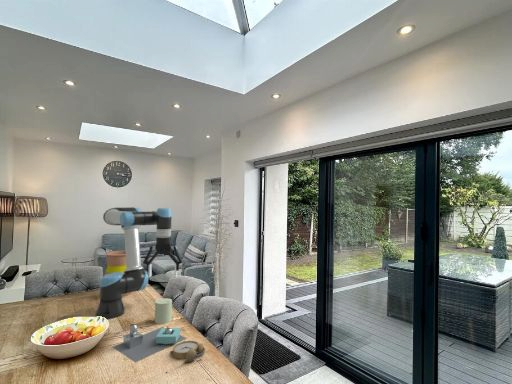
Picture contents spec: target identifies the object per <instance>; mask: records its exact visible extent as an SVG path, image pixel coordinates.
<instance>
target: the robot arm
mask: <svg viewBox="0 0 512 384" xmlns="http://www.w3.org/2000/svg"><path fill="white" fill-rule="evenodd" d="M172 217H173V215H172V209H171V208H169V207H168V208H167V207H165V208H164V207H163V208H161V207H159V208H157V210H155V211H154V210H152V211H143V210H142V209H141V208H140V207H133V206H132V207H131V206H130V207H112V208H109V209H107V210H105V212H104V213H103V215H102V220H103V222H105V223H106V224H107V225H110V226H120V227H121V230H122V231H124V248H125V250H126V267H127V268H126V270H125V271H124V274H122V273H121V272H117V273H110V274H107V275H105V274H104V275H105V276H104V275H103V276H102V277H101V279H100V285H99V288H100V289H99V303H98V306H97V310H96V311H95V317H96V316H102V317H105V318H107V319H106V320H110V319H115V318H118V317H121V316H123V315H124V314H125V313H126V312H125V310H126V309H125V305H124V302H123V297H122V294H126V293H131V292H132V293H135V292H140V291H142V290H146V289H145V288H147V285H148V283H149V278H151V277H152V274H153V273H152V272H153V271H152V269H153V267H152V266H153V264H152V262H153V261H154V259H156V258H157V256H159V255H167V256H169V257H170V259H171V260H172V261H173V262H174V270H173V272H174V275H173V277H174V278H177V277H178V271H179V270H180V264H182V263H183V261H184V260H183V259H182V257H181V254H180V253H179V250H178V246H177V245H173V246H172V238H171V236H172ZM142 226H156V240H155V245H150V246H149V250H148V253H147V254H146V256H145V258H144V259H143V261H141V260H142V259H141V247H140V233H139V230H140V229H141V227H142ZM154 250H156V252H155V253H153V251H154ZM171 250H172V251H173V252H174V253H173V252H172V251H171ZM152 254H153V256H151V255H152ZM174 254H175V255H174ZM150 256H151V258H150ZM142 262H143V264H145V265H146V270H145V267H143V265H142ZM132 293H131V294H132Z"/></svg>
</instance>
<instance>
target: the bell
mask: <svg viewBox="0 0 512 384" xmlns="http://www.w3.org/2000/svg"><path fill="white" fill-rule="evenodd" d="M165 328H166V330H165V334H172V328H173V327H171V325H167V326H166V327H165ZM160 344H162V345H170V344H173V343H160Z"/></svg>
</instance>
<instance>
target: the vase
mask: <svg viewBox="0 0 512 384" xmlns="http://www.w3.org/2000/svg"><path fill="white" fill-rule="evenodd" d="M104 256H105V257H106V258H105V259H106V262H107V263H106V264H107V268H106V270H105V272H104V275H103V276H105V275H107V274H110V273H117V272H121V273H122V274H124V271H125V270H126V268H127V267H126V250H111V251H108V252H104ZM132 293H133V292H131V293H126V294H122V298H125V297H128V296H130V295H131V294H132Z"/></svg>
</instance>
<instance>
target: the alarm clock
mask: <svg viewBox="0 0 512 384" xmlns="http://www.w3.org/2000/svg"><path fill="white" fill-rule="evenodd" d="M170 353H172V356H173V357H174V358H175V359H178V360H186V361H187V362H189V363H191V362H192V363H193V362H194V361H195V360H196V359H197V358H200V357H202V356H204V355H205V354H206V348H205V345H204V344H203V343H202V342H200V343H199V342H198V341H196V340H186V341H185V340H183V341H180V342H178V343H176V344H174V345H173V347H172V350H171V351H170Z"/></svg>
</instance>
